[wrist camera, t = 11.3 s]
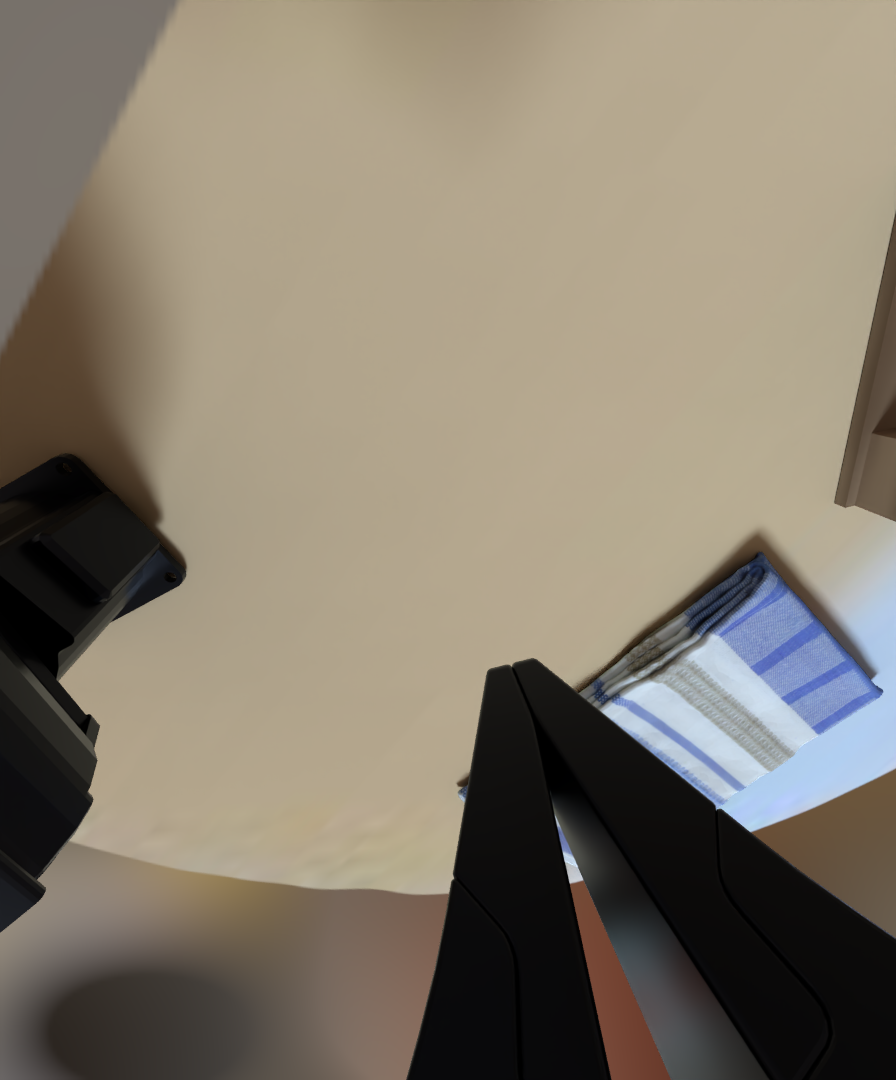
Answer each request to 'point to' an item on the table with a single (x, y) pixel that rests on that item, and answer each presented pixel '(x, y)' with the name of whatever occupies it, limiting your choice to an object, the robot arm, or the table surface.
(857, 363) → the table surface
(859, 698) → the dish towel
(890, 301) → the guide block
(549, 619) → the table surface
